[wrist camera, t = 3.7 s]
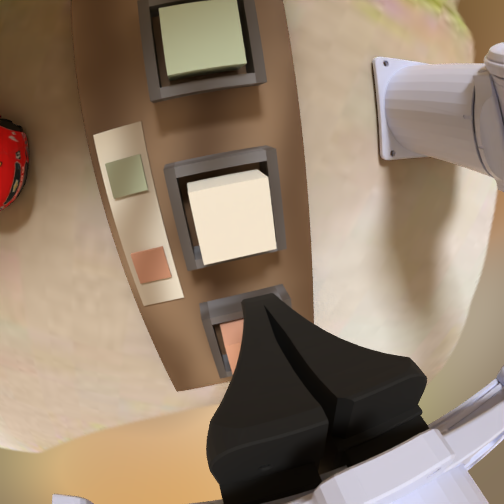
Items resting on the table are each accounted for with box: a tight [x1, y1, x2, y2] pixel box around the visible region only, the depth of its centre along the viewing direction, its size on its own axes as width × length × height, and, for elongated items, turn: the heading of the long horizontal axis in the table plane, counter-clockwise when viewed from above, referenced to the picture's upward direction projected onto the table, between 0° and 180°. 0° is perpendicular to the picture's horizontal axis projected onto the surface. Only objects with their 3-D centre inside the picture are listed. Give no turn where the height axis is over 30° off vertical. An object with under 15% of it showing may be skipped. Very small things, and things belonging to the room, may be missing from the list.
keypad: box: [71, 0, 314, 391], centre depth 18 cm, size 13×32×3 cm, turn 8°
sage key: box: [159, 0, 247, 81], centre depth 13 cm, size 4×4×2 cm
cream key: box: [187, 169, 277, 265], centre depth 17 cm, size 4×4×2 cm
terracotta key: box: [220, 318, 244, 374], centre depth 21 cm, size 4×4×2 cm
